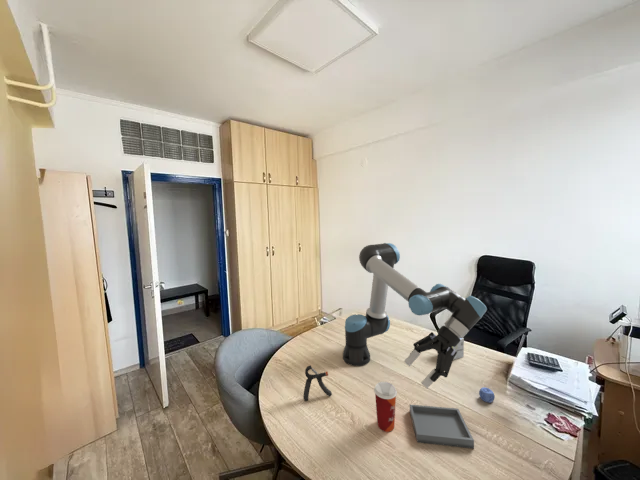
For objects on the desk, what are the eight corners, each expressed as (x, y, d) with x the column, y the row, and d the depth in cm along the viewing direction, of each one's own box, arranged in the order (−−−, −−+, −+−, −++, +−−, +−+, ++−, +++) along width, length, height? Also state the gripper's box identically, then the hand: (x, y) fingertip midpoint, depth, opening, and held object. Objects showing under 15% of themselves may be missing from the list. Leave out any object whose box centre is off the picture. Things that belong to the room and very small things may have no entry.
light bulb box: (454, 351, 143) (454, 333, 142) (464, 357, 137) (464, 338, 136) (439, 355, 140) (439, 336, 139) (448, 361, 133) (449, 342, 132)
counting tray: (417, 442, 86) (417, 434, 86) (409, 411, 100) (409, 404, 100) (473, 448, 83) (474, 440, 83) (458, 415, 97) (458, 408, 97)
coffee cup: (398, 436, 89) (398, 396, 88) (374, 433, 91) (374, 394, 89) (396, 417, 97) (395, 381, 96) (374, 415, 99) (373, 379, 98)
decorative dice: (494, 401, 104) (494, 392, 104) (487, 403, 103) (487, 394, 102) (485, 395, 108) (486, 386, 107) (478, 397, 107) (478, 388, 106)
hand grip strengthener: (332, 397, 109) (331, 365, 108) (303, 402, 107) (302, 368, 106) (331, 394, 112) (330, 362, 110) (303, 398, 110) (301, 365, 108)
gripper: (483, 355, 82) (440, 403, 82) (439, 324, 107) (406, 361, 107) (468, 341, 81) (425, 390, 81) (427, 313, 106) (394, 351, 106)
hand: (414, 374), depth 94 cm, fingers open, 13 cm apart
